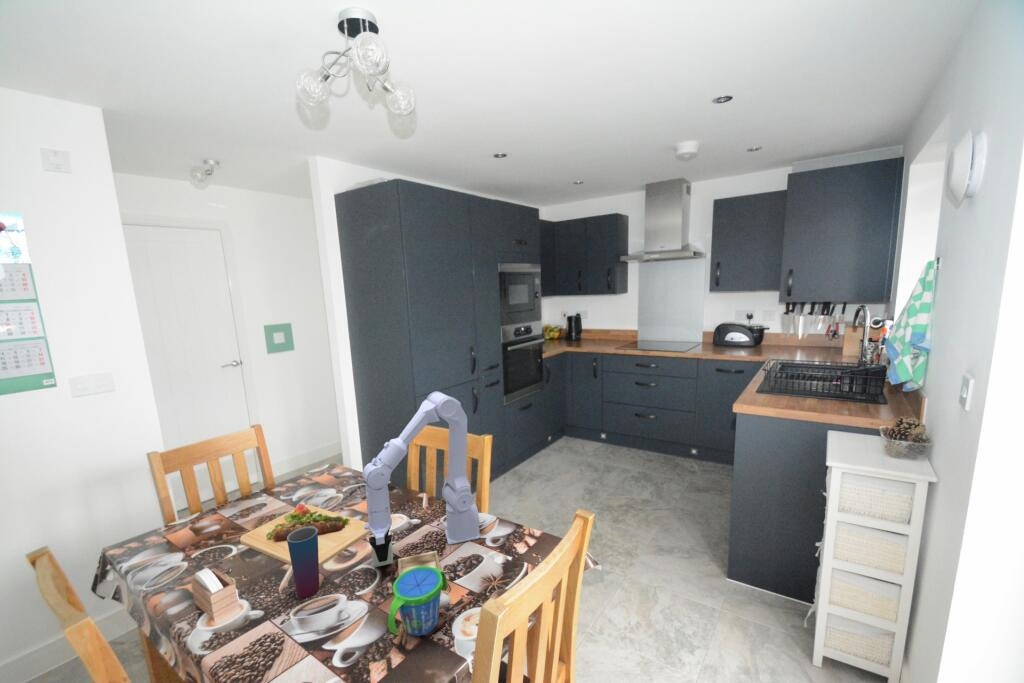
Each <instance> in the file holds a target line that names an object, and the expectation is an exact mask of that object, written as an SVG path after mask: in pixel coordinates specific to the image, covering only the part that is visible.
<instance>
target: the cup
mask: <svg viewBox="0 0 1024 683" xmlns="http://www.w3.org/2000/svg"><path fill="white" fill-rule="evenodd" d="M287 543H288V548H289V553H290V559H291V564H292V565H291V570H292V573H293V579H294V586H295V590H296V595H297V597H299V598H303V599H304V598H308V597H311V596H313V595H315V594H316V593H317V592H319V590H320V569H319V568H320V567H319V558H318V529H317V528H316V527H303V528H299V529H297V530H295V531H293V532H291V533H290V534H289V535H288V536H287Z"/></svg>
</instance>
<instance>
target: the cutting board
mask: <svg viewBox="0 0 1024 683" xmlns="http://www.w3.org/2000/svg"><path fill="white" fill-rule="evenodd" d="M367 523H368V522H366V521H363V520H361V519H360V520H359V519H357V518H353V517H351V516H347V515H344V514H341V513H337V512H334V511H331V510H328V509H324V508H321V507H318V506H316V505H311V504H303V503H298V505H297V506H296V508H294V509H292V510H290V511H288V512H286V513H283V515H282V514H281V515H280V516H278V517H276V518H273V519H272V520H270V521H268V522H266V523H264V524H263V525H260V526H257V528H254V529H253V530H251V531H248V532H247V533H244V534H243V535H241V536H240V539H239V542H240V544H241V545H244V546H246V547H248V548H250V549H252V550H255V551H257V552H260V553H262V554H264V555H266V556H269V557H271V558H274V559H276V560H277V561H281V562H283V563H285V564H288V565H290V566H292V564H291V559H290V553H289V548H288V543H287V536H288V535H289V534H290V533H291V532H293V531H295V530H297V529H299V528H303V527H316V528H317V529H318V558H319V568H320V567H322V566H323V565H325V564H326V563H328V562H329V561H330V560H332V559H334V558H335V557H337V556H339V555H340V554H341V553H342V552H344V551H345V550H347V549H348V548H350V547H351V546H353V545H354V544H356V543H358V542H359V541H360V540H362V539H363V538H365V537H366V536H368V535H369V534H372V533H371V531H370V530H369V529H367V530H365V529H364V525H365V524H367Z"/></svg>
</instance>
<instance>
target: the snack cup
mask: <svg viewBox="0 0 1024 683" xmlns="http://www.w3.org/2000/svg"><path fill="white" fill-rule="evenodd" d="M440 569H441V568H440ZM440 569H437V568H432V567H427V566H422V567H416V568H412V569H410V570H407V571H406V572H404V573H402V574H401V575H400V576H399V575H398V577H397V578H396V580H394V582H393V586H392V592H393V597H394V598H393V600H392V602H391V604H390V607H389V610H388V619H387V627H388V630H389V632H391V633H392V634H394V635H398V633H399V632H398V629H397V624H396V616H397V614H398V612H399V615H400V620H401V623H402V626H403V629H404V631H405V632H406V634H407V635H409V636H414V637H419V636H420V637H421V636H426V635H428V634H429V633H430V632H432V631H433V629H434V628H435V627H436V626H437V625H438V622H439V618H440V607H441V605H440V604H441V595H442V594H441V593H442V592H441V591H443V592H444V591H445V592H446V591H447V590H448V588H449V587H448V586H449V584H448V579H447V576H446V573H445V571H444V570H442V569H441V570H440Z"/></svg>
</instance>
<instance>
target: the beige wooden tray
mask: <svg viewBox="0 0 1024 683" xmlns="http://www.w3.org/2000/svg"><path fill="white" fill-rule="evenodd" d="M397 566H398V577H399V576H400V575H401V574H402V573H404V572H406V571H407V570H410V569H412V568H416V567H422V566H427V567H432V568H437V569H440V570H442V569H441V564H440V561H439V556H438V551H437V550H434V551H429V552H425V553H420V554H417V555H416V554H415V555H412V556H411V555H410V556H405V557H402V558H401V557H400V558H398V559H397Z"/></svg>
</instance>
